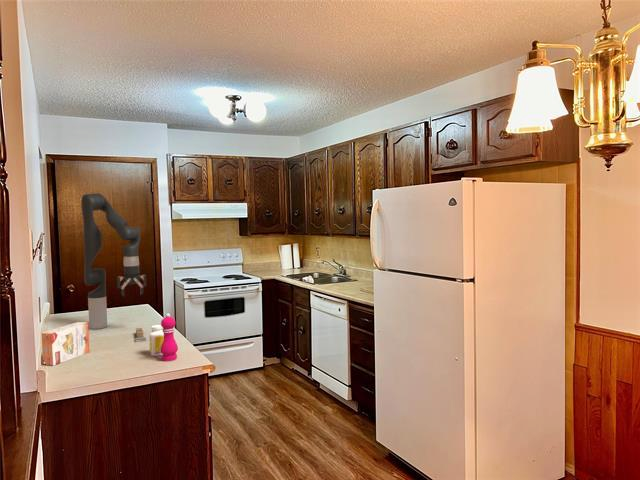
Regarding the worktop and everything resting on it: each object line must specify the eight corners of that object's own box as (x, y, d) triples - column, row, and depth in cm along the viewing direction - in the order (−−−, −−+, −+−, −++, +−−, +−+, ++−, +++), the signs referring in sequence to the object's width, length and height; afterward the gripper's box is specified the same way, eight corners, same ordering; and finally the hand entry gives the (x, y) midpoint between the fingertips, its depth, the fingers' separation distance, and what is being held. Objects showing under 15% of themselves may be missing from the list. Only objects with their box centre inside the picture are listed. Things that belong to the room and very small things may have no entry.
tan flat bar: (134, 334, 251) (133, 328, 251) (144, 333, 253) (143, 327, 253) (135, 342, 234) (135, 336, 234) (146, 341, 236) (146, 335, 236)
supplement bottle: (168, 352, 216) (167, 324, 215) (159, 357, 209) (158, 328, 209) (156, 351, 218) (155, 323, 217) (146, 355, 212) (145, 327, 211)
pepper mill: (163, 356, 209) (161, 312, 208) (179, 356, 210) (178, 311, 209) (158, 362, 202) (157, 315, 201) (176, 361, 203) (174, 315, 202)
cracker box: (90, 351, 219) (53, 366, 199) (80, 350, 221) (41, 365, 201) (89, 322, 218) (51, 333, 198) (78, 321, 220) (40, 332, 200)
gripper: (145, 263, 254) (146, 293, 255) (116, 264, 248) (117, 295, 250) (146, 264, 247) (147, 295, 249) (116, 266, 241) (117, 297, 243)
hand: (132, 295), depth 249 cm, fingers open, 8 cm apart
